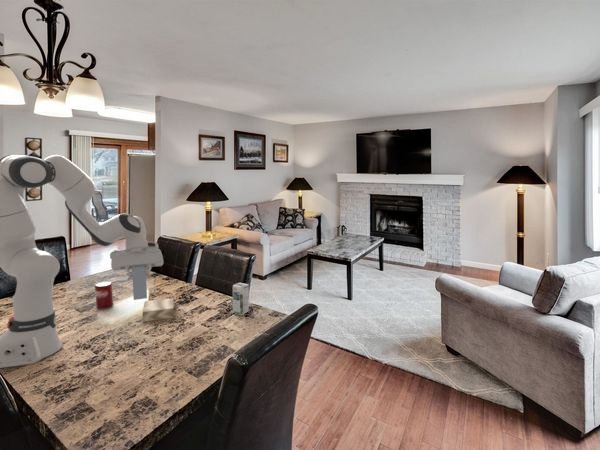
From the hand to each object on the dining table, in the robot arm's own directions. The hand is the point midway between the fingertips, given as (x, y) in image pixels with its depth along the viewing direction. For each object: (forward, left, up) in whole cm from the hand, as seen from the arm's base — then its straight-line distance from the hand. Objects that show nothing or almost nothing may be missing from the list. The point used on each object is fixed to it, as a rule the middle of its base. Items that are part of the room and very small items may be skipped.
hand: (139, 275), depth 137 cm
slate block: (0, 0, -9) cm, 9 cm away
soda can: (-15, +32, -23) cm, 43 cm away
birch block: (+8, +12, -24) cm, 28 cm away
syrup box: (+43, -5, -23) cm, 49 cm away
